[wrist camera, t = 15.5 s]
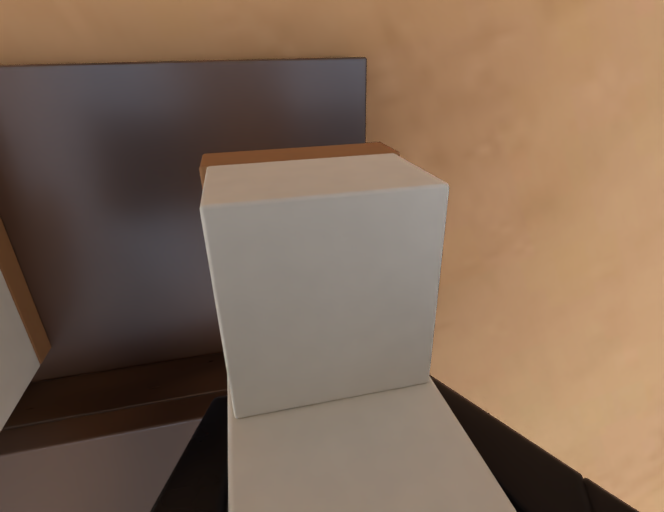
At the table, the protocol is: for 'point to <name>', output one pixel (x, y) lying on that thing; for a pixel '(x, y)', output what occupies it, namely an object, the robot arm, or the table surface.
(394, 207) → the white l-shaped block
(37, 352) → the white stacked box shape
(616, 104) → the table surface
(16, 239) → the shoe rack
